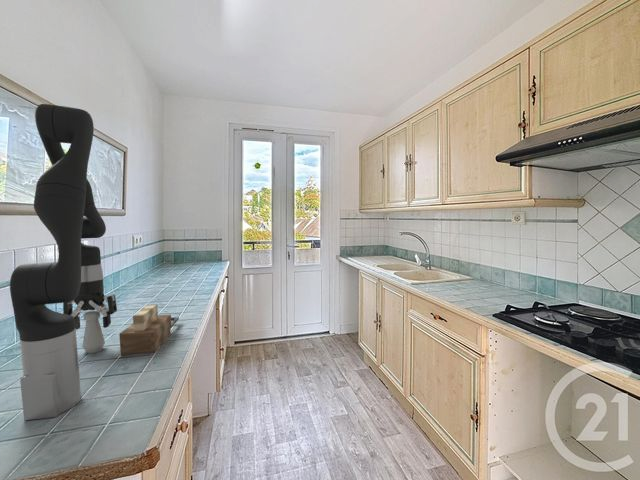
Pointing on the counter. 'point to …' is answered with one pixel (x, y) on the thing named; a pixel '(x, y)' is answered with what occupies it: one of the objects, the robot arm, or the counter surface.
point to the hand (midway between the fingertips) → (91, 327)
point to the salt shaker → (93, 333)
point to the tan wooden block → (147, 322)
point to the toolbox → (145, 341)
